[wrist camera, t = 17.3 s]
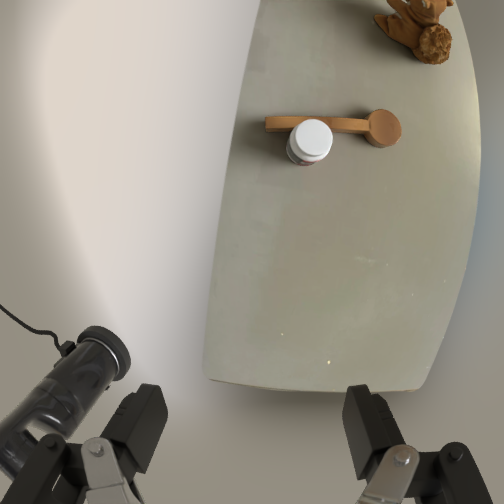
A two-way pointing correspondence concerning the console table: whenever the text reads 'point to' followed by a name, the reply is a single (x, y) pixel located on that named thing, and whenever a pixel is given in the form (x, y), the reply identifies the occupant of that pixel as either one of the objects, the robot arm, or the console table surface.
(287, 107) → the console table surface
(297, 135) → the pill bottle
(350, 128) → the wooden spoon
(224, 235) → the console table surface
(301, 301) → the console table surface
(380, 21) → the stuffed squirrel
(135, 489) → the robot arm
